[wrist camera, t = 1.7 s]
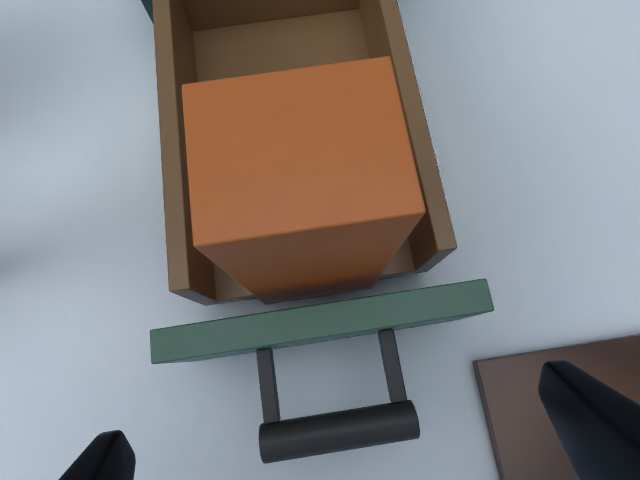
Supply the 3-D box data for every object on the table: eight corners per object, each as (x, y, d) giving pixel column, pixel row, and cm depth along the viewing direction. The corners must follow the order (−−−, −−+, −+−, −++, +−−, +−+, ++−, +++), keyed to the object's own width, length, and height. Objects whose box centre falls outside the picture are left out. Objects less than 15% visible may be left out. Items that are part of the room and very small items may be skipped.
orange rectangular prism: (371, 288, 20) (426, 212, 9) (264, 304, 19) (192, 247, 9) (356, 208, 21) (390, 54, 10) (255, 223, 20) (180, 82, 10)
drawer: (473, 413, 19) (527, 435, 14) (202, 457, 19) (156, 497, 14) (380, 9, 25) (394, -79, 20) (172, 37, 25) (132, -46, 19)
